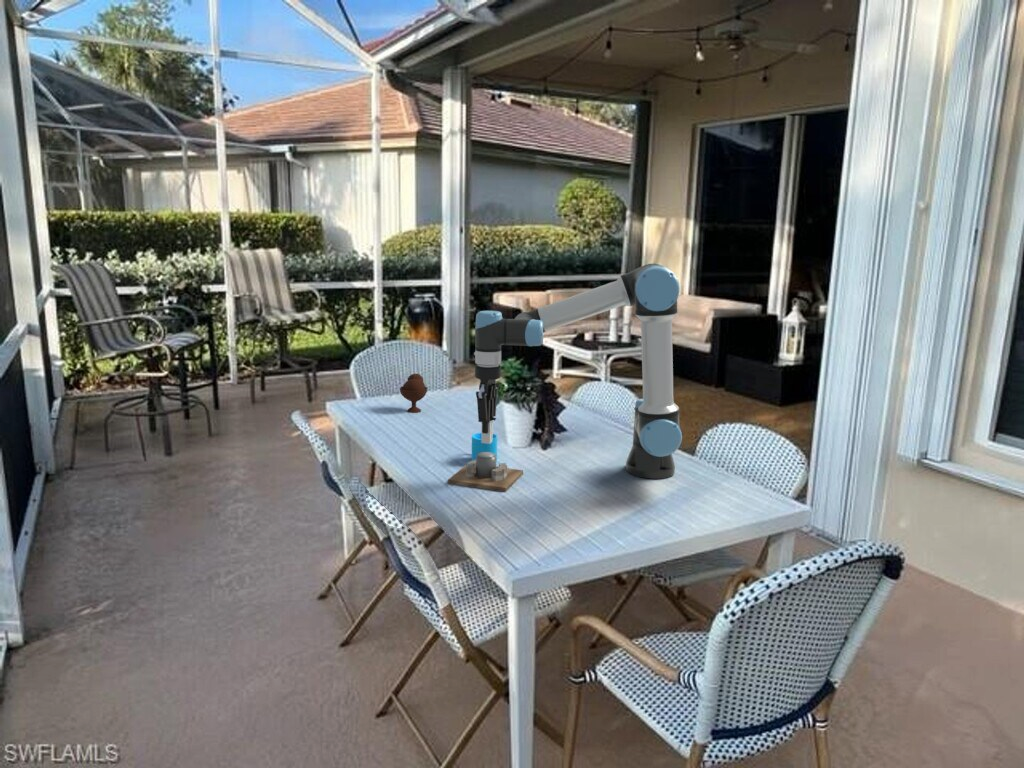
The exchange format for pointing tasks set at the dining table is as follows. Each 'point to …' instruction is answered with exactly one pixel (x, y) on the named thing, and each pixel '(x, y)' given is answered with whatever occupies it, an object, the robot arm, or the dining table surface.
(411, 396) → the ice cream bowl
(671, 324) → the robot arm
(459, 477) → the board
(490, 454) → the cap
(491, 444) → the mug
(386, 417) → the dining table surface
